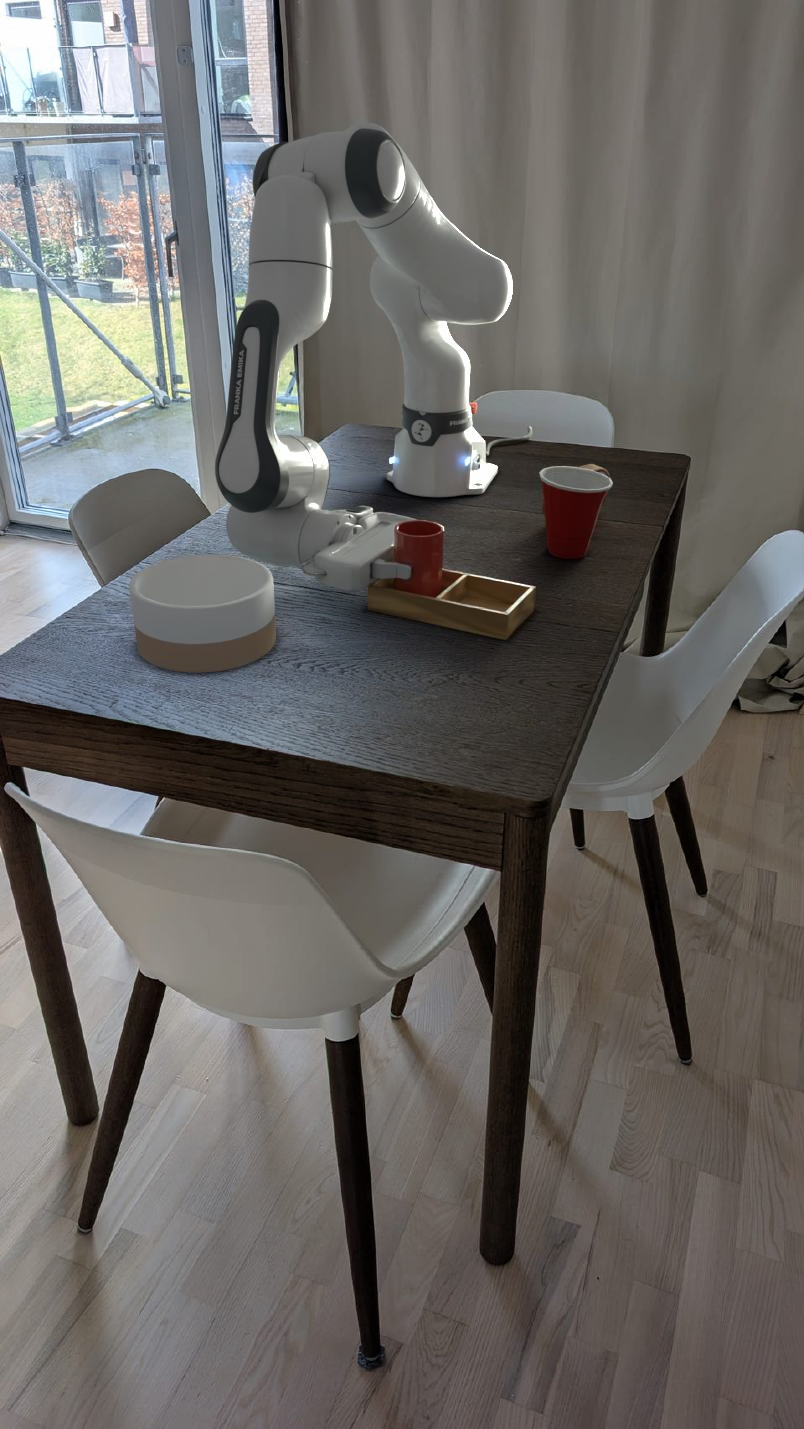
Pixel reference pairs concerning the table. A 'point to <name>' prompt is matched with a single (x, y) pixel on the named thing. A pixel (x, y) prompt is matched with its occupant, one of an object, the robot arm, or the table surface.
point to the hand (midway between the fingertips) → (424, 561)
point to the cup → (420, 556)
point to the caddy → (460, 603)
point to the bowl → (203, 612)
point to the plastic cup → (572, 508)
